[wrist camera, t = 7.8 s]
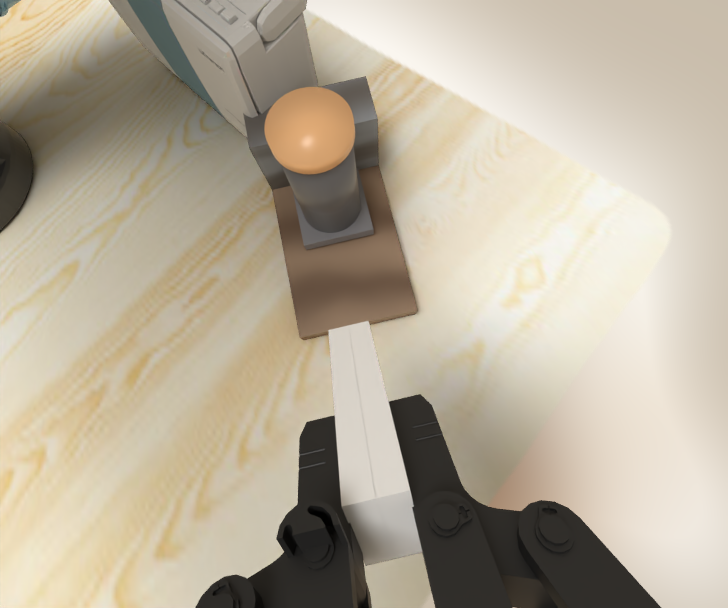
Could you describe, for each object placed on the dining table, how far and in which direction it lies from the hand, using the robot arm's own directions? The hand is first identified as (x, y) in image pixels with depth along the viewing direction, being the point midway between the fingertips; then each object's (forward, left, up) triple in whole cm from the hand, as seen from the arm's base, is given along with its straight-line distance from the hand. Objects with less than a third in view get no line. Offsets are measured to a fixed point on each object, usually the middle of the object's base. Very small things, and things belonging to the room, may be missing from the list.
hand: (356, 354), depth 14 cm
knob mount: (-12, +5, -18) cm, 22 cm away
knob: (-14, +5, -16) cm, 22 cm away
